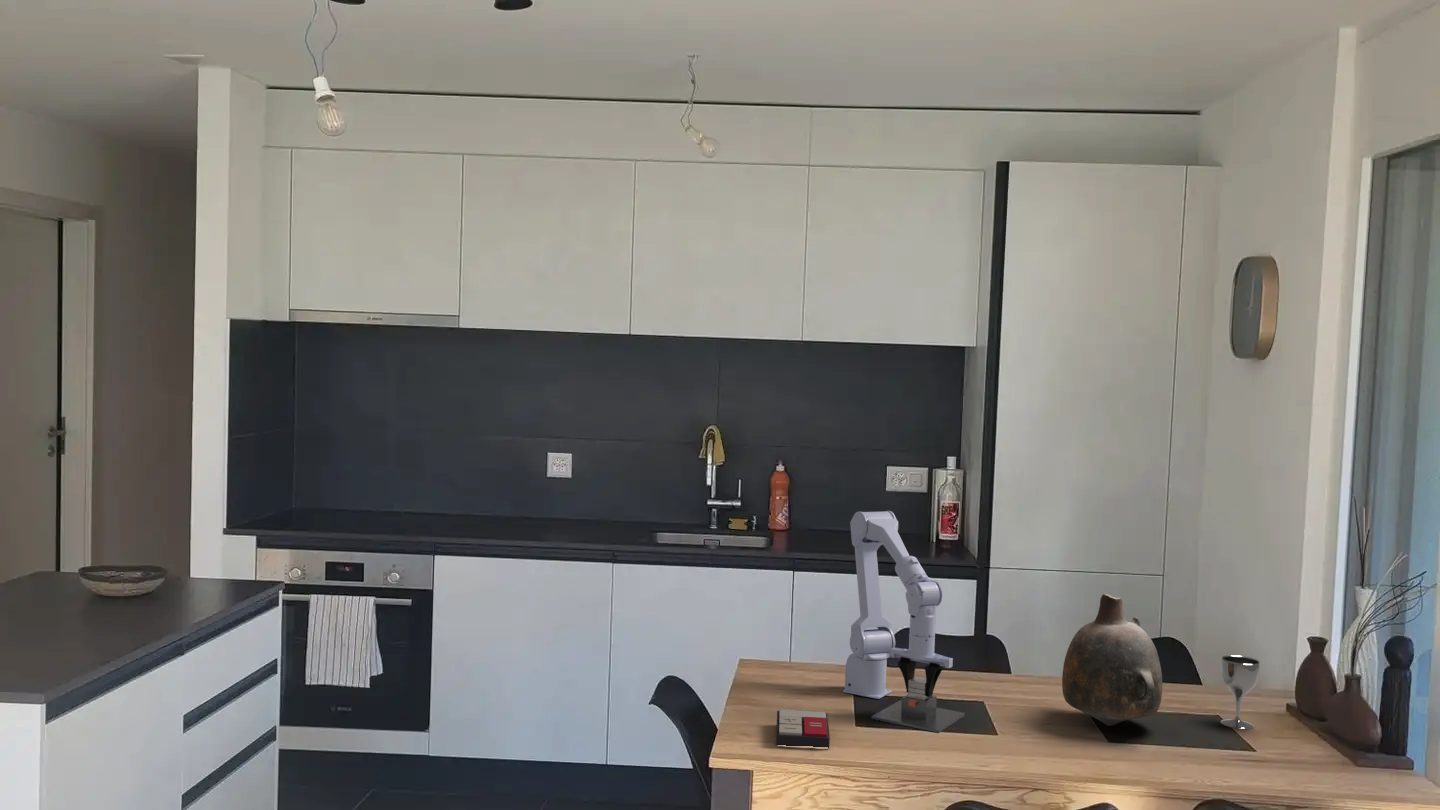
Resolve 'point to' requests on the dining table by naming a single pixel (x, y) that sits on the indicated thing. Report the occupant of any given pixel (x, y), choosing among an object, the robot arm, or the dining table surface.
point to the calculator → (802, 728)
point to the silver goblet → (1239, 683)
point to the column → (917, 689)
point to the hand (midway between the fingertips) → (919, 693)
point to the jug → (1112, 668)
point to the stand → (919, 714)
